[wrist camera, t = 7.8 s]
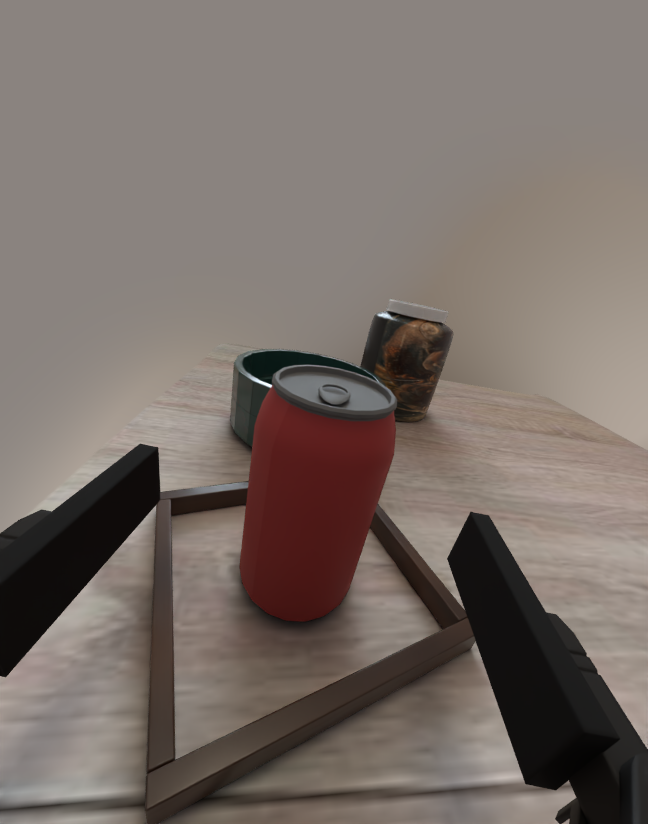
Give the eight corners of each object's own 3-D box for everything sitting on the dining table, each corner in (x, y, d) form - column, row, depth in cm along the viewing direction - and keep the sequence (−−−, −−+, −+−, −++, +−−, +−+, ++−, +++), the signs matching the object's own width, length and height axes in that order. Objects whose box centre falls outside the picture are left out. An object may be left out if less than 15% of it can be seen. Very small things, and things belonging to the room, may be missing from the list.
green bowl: (397, 460, 32) (417, 400, 29) (248, 478, 25) (255, 401, 22) (332, 399, 45) (342, 353, 42) (220, 400, 38) (223, 344, 35)
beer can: (220, 613, 15) (236, 394, 10) (257, 519, 21) (279, 352, 16) (348, 641, 15) (425, 434, 10) (349, 539, 21) (398, 377, 16)
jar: (337, 391, 48) (359, 292, 42) (388, 388, 55) (413, 302, 49) (389, 426, 40) (426, 308, 34) (441, 417, 46) (480, 318, 40)
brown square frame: (471, 648, 16) (482, 631, 15) (147, 829, 9) (144, 812, 9) (346, 482, 27) (349, 468, 26) (157, 509, 20) (156, 492, 20)
